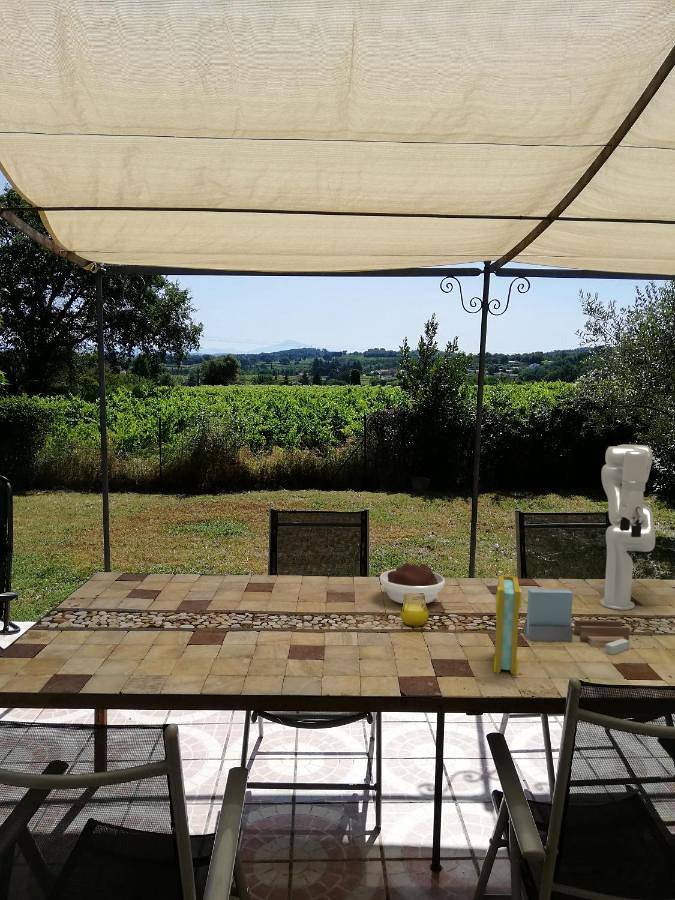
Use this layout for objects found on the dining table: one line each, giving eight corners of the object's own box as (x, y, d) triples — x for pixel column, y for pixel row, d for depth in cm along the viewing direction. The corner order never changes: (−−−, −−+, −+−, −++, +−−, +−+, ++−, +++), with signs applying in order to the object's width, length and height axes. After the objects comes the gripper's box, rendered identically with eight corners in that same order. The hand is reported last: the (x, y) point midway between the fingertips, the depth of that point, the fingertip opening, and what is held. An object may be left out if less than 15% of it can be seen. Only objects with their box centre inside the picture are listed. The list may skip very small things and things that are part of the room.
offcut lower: (587, 643, 237) (587, 636, 237) (622, 643, 237) (622, 636, 237) (591, 647, 233) (591, 640, 233) (627, 647, 234) (627, 640, 234)
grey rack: (524, 633, 244) (525, 619, 243) (565, 633, 244) (565, 619, 244) (530, 640, 237) (530, 626, 236) (571, 641, 237) (572, 627, 237)
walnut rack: (573, 634, 244) (574, 619, 244) (620, 635, 244) (621, 620, 244) (580, 641, 237) (581, 627, 237) (628, 642, 237) (629, 628, 237)
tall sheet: (526, 635, 242) (528, 589, 240) (566, 636, 242) (569, 590, 241) (528, 638, 239) (530, 592, 237) (569, 639, 239) (572, 593, 238)
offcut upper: (605, 644, 228) (612, 646, 226) (622, 638, 233) (629, 641, 231) (605, 653, 229) (611, 655, 227) (621, 647, 234) (628, 650, 232)
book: (517, 674, 209) (521, 592, 207) (493, 672, 211) (497, 590, 208) (514, 653, 226) (518, 576, 223) (493, 651, 227) (496, 574, 225)
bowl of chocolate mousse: (365, 600, 275) (366, 562, 273) (405, 587, 293) (406, 551, 292) (418, 616, 258) (419, 576, 257) (456, 601, 276) (458, 563, 275)
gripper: (613, 481, 258) (610, 528, 260) (632, 489, 241) (629, 539, 243) (633, 482, 258) (630, 528, 260) (655, 490, 241) (651, 539, 243)
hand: (630, 533), depth 251 cm, fingers open, 9 cm apart
